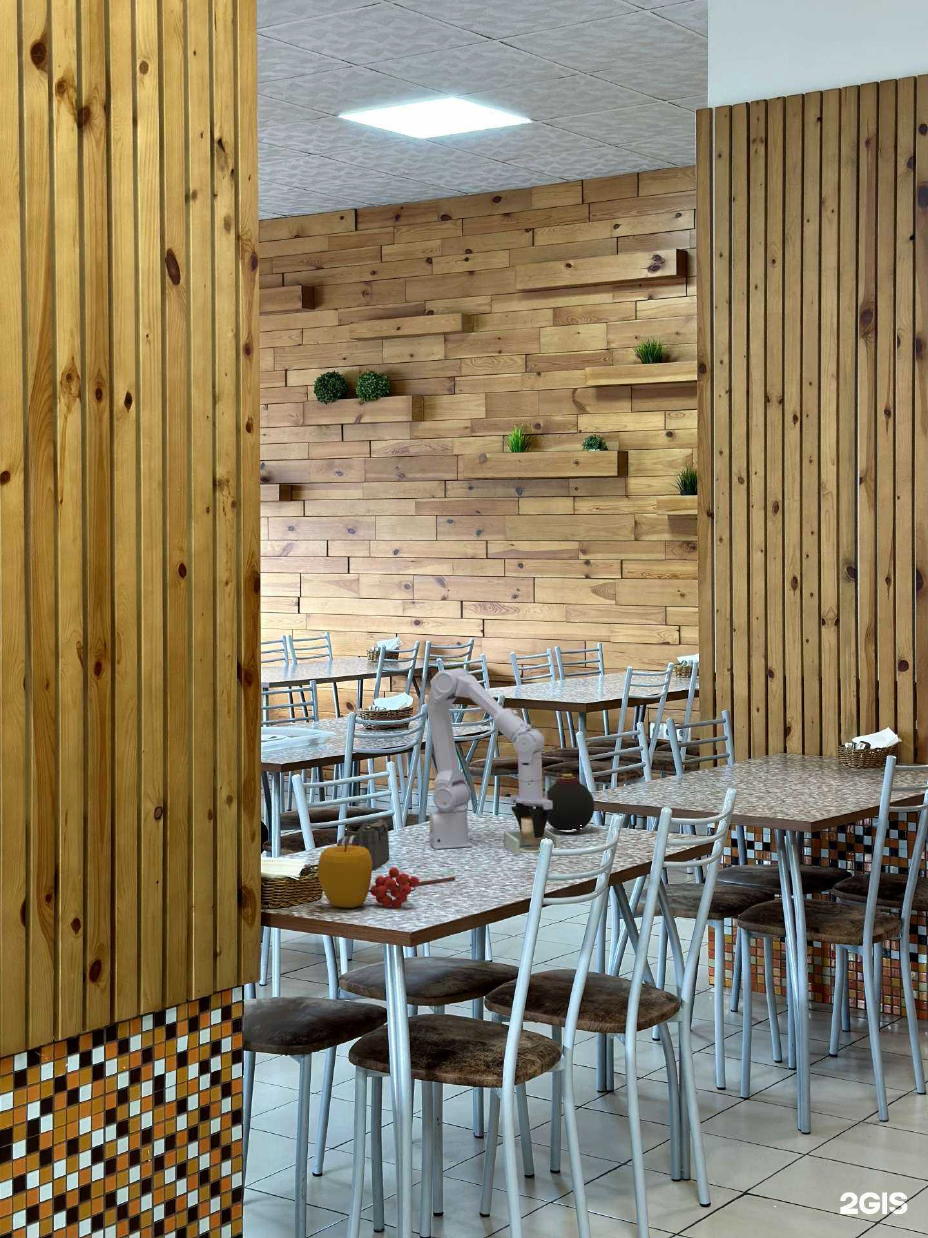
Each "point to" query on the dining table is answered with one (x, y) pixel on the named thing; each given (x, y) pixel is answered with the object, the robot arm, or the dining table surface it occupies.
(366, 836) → the camera
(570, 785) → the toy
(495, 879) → the dining table surface
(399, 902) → the decorative berry sprig
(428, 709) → the robot arm
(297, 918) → the dining table surface
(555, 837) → the shallow grey tray
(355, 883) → the apple
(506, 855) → the dining table surface
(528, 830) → the birch cylinder
